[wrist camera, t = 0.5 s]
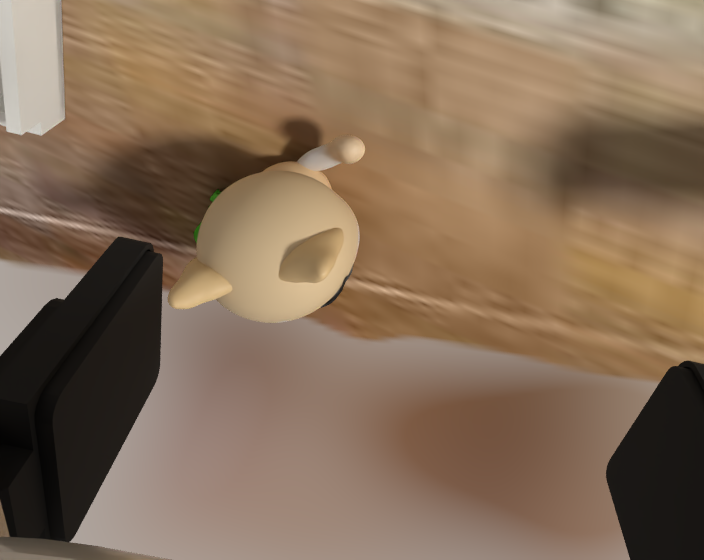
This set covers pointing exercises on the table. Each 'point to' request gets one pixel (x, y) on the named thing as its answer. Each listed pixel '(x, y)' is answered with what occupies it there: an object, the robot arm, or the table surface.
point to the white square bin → (31, 65)
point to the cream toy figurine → (275, 240)
